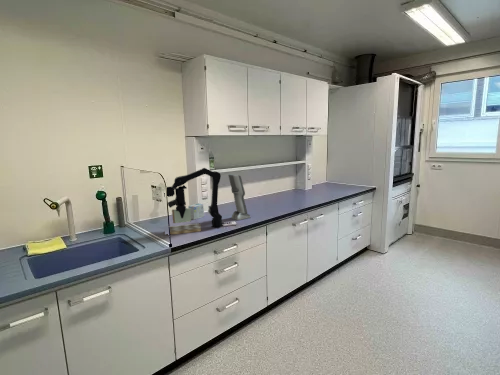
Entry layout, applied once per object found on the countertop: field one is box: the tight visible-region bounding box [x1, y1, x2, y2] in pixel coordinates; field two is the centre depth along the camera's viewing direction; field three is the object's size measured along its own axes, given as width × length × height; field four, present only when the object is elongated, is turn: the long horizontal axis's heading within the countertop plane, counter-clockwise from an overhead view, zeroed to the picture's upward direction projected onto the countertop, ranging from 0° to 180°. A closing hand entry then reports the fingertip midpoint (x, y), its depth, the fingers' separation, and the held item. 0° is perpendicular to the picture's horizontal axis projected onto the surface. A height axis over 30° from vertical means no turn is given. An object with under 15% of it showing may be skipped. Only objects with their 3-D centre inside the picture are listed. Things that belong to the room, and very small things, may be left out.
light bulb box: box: [187, 203, 205, 220], centre depth 218 cm, size 11×7×11 cm, turn 141°
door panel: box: [171, 207, 192, 224], centre depth 183 cm, size 12×2×9 cm, turn 104°
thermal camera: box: [228, 174, 251, 221], centre depth 210 cm, size 12×13×35 cm
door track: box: [169, 222, 202, 235], centre depth 184 cm, size 24×9×4 cm, turn 104°
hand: (182, 217), depth 183 cm, fingers closed on door panel, 2 cm apart
